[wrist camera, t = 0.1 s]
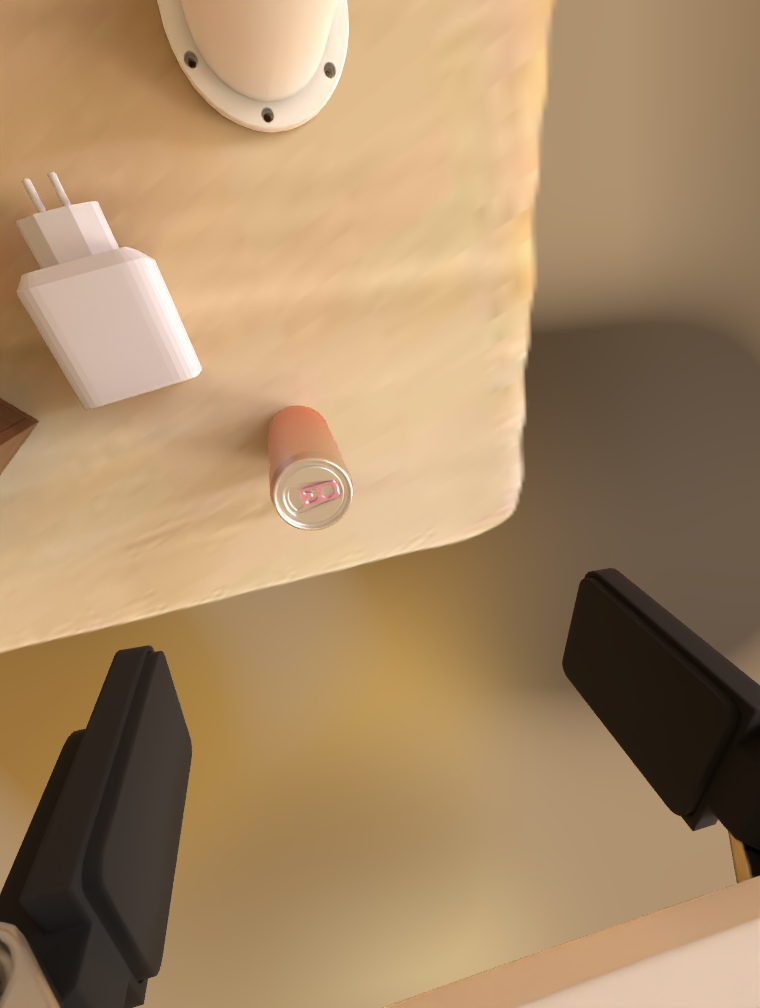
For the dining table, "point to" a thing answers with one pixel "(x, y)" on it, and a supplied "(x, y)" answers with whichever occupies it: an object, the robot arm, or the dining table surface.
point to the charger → (100, 305)
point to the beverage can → (306, 470)
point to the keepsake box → (13, 431)
